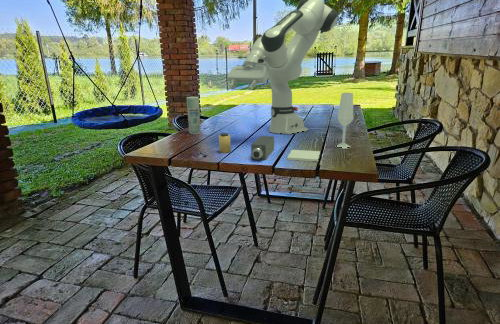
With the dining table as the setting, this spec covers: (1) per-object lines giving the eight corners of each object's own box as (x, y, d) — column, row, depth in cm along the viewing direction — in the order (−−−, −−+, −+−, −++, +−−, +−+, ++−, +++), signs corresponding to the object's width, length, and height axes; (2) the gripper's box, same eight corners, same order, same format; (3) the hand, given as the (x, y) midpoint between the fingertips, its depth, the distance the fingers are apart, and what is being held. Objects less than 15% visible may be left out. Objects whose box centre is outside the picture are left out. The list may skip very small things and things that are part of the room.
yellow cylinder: (228, 149, 139) (227, 132, 137) (232, 152, 135) (231, 134, 132) (217, 151, 137) (217, 133, 135) (221, 153, 133) (220, 135, 130)
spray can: (189, 134, 171) (186, 98, 165) (188, 132, 177) (186, 96, 171) (201, 133, 172) (198, 97, 166) (200, 131, 178) (198, 96, 172)
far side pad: (291, 151, 134) (291, 149, 133) (320, 153, 131) (320, 151, 130) (287, 159, 123) (287, 157, 123) (317, 161, 120) (318, 159, 119)
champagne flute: (350, 148, 137) (355, 94, 130) (335, 147, 139) (338, 93, 132) (350, 145, 143) (355, 92, 136) (335, 144, 145) (339, 92, 138)
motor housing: (262, 147, 142) (262, 134, 140) (275, 147, 141) (275, 135, 139) (249, 161, 122) (249, 146, 120) (263, 162, 120) (263, 147, 119)
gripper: (232, 60, 145) (219, 83, 141) (269, 60, 134) (257, 84, 130) (237, 70, 150) (225, 92, 145) (274, 70, 139) (262, 94, 134)
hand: (240, 88), depth 137 cm, fingers open, 8 cm apart
